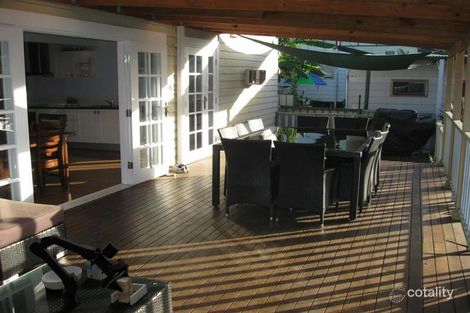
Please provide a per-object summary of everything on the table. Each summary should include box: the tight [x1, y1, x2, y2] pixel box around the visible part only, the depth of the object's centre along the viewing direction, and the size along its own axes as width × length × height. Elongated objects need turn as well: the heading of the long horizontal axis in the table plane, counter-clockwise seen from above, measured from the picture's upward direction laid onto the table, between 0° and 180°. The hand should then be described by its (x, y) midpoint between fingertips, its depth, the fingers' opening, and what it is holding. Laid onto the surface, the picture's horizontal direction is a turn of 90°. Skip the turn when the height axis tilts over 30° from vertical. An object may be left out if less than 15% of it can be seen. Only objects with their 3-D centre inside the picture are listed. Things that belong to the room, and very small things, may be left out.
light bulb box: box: [85, 257, 108, 281], centre depth 264 cm, size 11×7×11 cm, turn 62°
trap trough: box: [110, 282, 149, 306], centre depth 235 cm, size 14×12×4 cm
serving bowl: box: [41, 265, 83, 290], centre depth 257 cm, size 21×21×7 cm
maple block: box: [116, 276, 133, 304], centre depth 232 cm, size 5×5×11 cm
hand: (127, 287), depth 231 cm, fingers open, 8 cm apart
